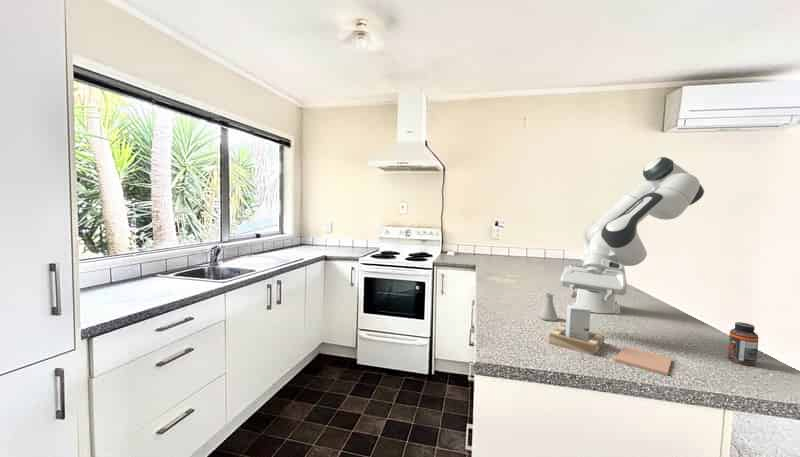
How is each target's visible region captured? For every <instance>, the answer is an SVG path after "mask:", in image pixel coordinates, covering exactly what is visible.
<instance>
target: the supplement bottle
mask: <svg viewBox="0 0 800 457" xmlns="http://www.w3.org/2000/svg"><path fill="white" fill-rule="evenodd" d="M734 324H735V325H734V328H731V329H730V331H729V339H728V341H729V342H728V352H727V358H728V359H729V360H730V361H731V362H733V363H736V364H739V365H743V366H750V367H751V366H752V367H753V366H755V365H757V361H758V360H757V359H758V352H759V351H758V348H759V339H760V338H759V334H757V333H756V332H755V325H754V324H751V323H747V322H741V321H738V322H737V321H736V322H735V323H734Z"/></svg>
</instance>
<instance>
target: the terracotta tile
mask: <svg viewBox="0 0 800 457" xmlns="http://www.w3.org/2000/svg"><path fill="white" fill-rule="evenodd" d="M614 362H616V363H620V364H623V365H627V366H631V367H634V368H638V369H641V370H645V371H649V372H652V373H656V374H660V375H662V376H667V377H668V375H669V371H670V369H671V365H672V362H673V357H669V356H666V355H662V354H657V353H653V352H650V351H649V352H648V351H645V350H641V349H637V348H633V347H629V346H622V348H621V349H620V351H619V352H618V354H617V355H616V356H615V358H614Z"/></svg>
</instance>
